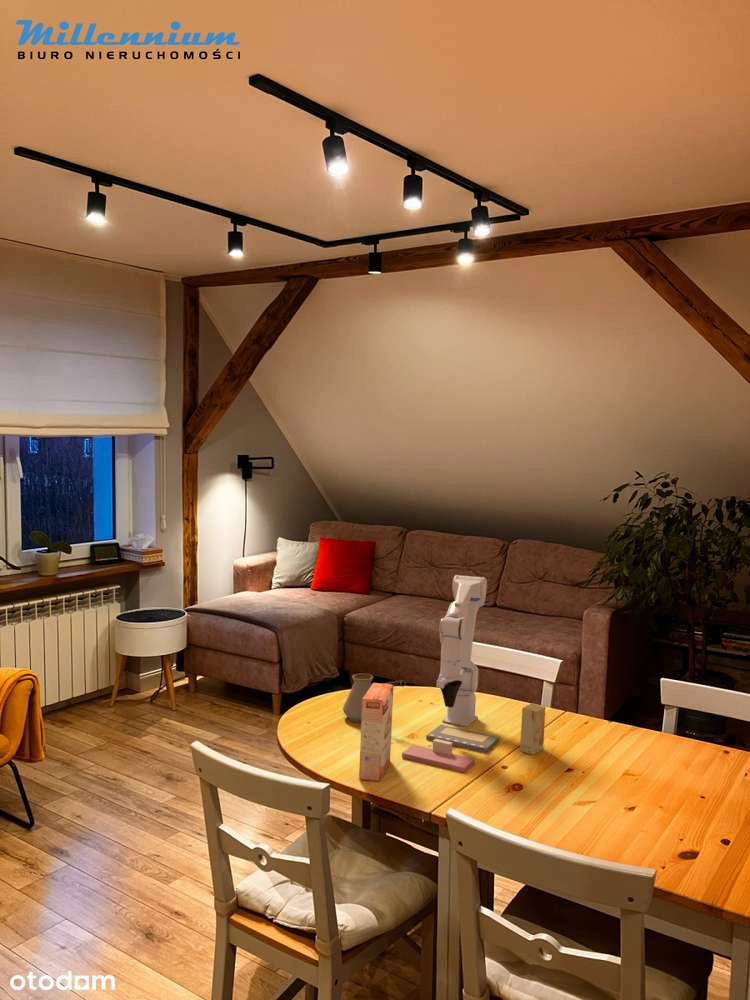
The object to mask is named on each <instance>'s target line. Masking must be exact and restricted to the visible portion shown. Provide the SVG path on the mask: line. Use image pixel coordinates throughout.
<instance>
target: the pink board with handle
mask: <svg viewBox="0 0 750 1000" xmlns="http://www.w3.org/2000/svg"><path fill="white" fill-rule="evenodd" d="M452 743H453V742H448V741H444V740H439V739H434V740H433V741H432V748H430V747H426V746H422V745H417V744H412V745H410V746H409V747H408V748H407V749H404V751H402V752H401V758H403V759H408V760H411V761H416V762H419V763H423V764H429V765H432V766H436V767H440V768H445V769H450V770H453V771H457V772H461V773H466V772H467V771H468V770H469V769H470V768H471V767H472V766H473V765H474V764H475V763H476V762H475V761H476V758H475V757H474V758H473V757H469V756H464V755H460V754H456V753H453V745H452Z"/></svg>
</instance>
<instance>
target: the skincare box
mask: <svg viewBox="0 0 750 1000" xmlns="http://www.w3.org/2000/svg"><path fill="white" fill-rule="evenodd" d="M521 711H522V712H521V726H520V727H521V728H520V729H521V730H520V744H519V745H520V747H519V751H520V752H523V753H526V754H529V755H536V754H538V753H539V752H541V751H543V749H544V741H545V724H546V723H545V721H546V706H544V705H541V704H538V703H534V702H532V703H529V704H528V705H526V706H524V707H522V709H521ZM540 750H541V751H540Z"/></svg>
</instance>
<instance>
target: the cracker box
mask: <svg viewBox="0 0 750 1000" xmlns="http://www.w3.org/2000/svg"><path fill="white" fill-rule="evenodd" d="M394 689H395V688H394V685H391V684H384V683H380V682H379V683H378V682H373V683H371V687H370V688H369V690H368V691H367V693H366V694H365V696H364V697H363V699H362V717H361V722H360V725H361V726H360V745H359V746H360V748H359V766H358V767H359V768H358V769H359V772H358V779H359V780H363V779H364V780H363V781H371V782H381V781H382V778H383V776H384V774H385V772H386V770H387V767H388V766H389V764H390V761H391V751H392V750H391V748H392V732H393V731H392V726H393V708H394V707H393V704H394Z"/></svg>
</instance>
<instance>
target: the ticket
mask: <svg viewBox="0 0 750 1000" xmlns="http://www.w3.org/2000/svg"><path fill="white" fill-rule="evenodd" d="M425 739H426V740H427V741H432V742H433V740H434V739H439V740H444V741H448V742H453V743H452V747H458V748H462V749H468V750H471V751H475V752H480V753H485V754H487V753H488V752H489V751H490V750H491V749H493V748H494V746H496V745H497V744H498V743H499V742H500V736H496V735H491V734H487V733H481V732H477V731H472V730H467V729H464V728H459V727H454V726H449V725H444V724H440V725H438V726H437V727H436V728H435V729H433V730H431V731H430V732H429V733H428V734H426V737H425Z"/></svg>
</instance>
